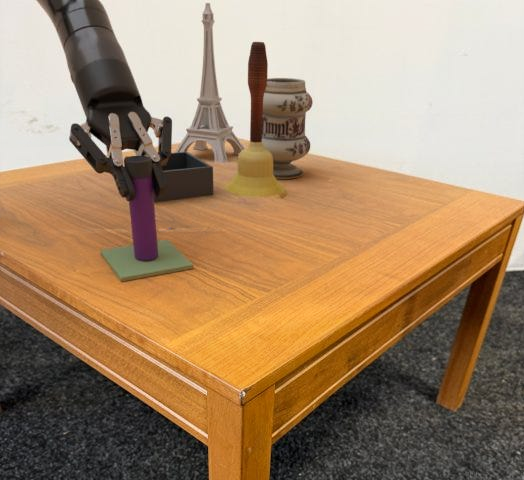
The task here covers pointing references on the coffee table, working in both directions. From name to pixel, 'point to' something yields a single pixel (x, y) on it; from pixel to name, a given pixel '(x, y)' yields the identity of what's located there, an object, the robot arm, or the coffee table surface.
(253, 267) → the coffee table surface
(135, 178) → the marker
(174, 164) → the bin
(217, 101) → the eiffel tower
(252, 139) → the handbell
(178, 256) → the mat
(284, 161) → the apothecary jar
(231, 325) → the coffee table surface
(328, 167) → the coffee table surface
